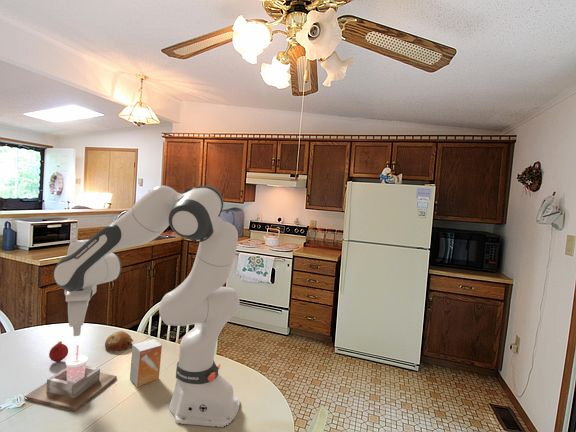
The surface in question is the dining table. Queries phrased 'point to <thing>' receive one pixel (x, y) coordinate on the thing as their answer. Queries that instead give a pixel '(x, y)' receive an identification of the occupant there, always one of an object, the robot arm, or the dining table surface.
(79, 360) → the beverage cup
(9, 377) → the dining table surface
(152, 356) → the small box
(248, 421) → the dining table surface
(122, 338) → the bread roll
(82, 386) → the walnut board
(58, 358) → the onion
